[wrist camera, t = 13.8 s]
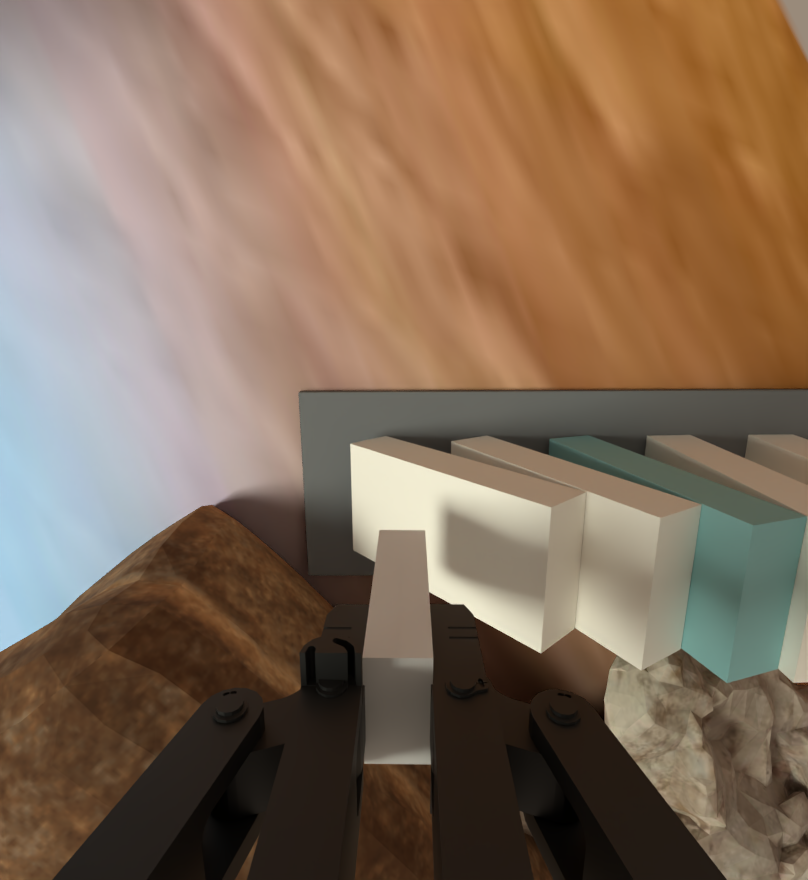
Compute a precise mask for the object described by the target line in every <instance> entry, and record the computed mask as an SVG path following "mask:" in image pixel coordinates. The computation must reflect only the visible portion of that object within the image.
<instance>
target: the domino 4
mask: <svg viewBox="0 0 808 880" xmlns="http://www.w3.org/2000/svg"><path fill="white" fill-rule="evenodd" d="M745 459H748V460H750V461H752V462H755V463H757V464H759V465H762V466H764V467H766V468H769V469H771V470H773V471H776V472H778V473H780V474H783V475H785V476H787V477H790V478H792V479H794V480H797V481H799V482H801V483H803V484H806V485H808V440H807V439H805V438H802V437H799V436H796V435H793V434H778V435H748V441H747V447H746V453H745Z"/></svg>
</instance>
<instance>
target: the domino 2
mask: <svg viewBox="0 0 808 880" xmlns="http://www.w3.org/2000/svg"><path fill="white" fill-rule="evenodd" d="M451 454H452V455H456V456H459V457H463V458H467V459H470V460H474V461H477V462H481V463H484V464H488V465H492V466H495V467H499V468H502V469H506V470H510V471H513V472H517V473H520V474H524V475H527V476H531V477H535V478H538V479H542V480H545V481H549V482H552V483H556V484H560V485H563V486H567V487H570V488H574V489H578V490H581V491H585V492H587V493H586V504H585V515H584V527H583V538H582V549H581V561H580V572H579V583H578V595H577V606H576V617H575V628H576V629H577V630H579V631H580V632H582V633H584V634H585V635H587V636H588V637H590V638H591V639H593V640H594V641H596V642H598V643H599V644H601V645H602V646H604V647H605V648H607V649H608V650H610V651H612V652H613V653H615V654H616V655H618V656H619V657H621V658H622V659H624V660H625V661H627V662H629V663H630V664H632V665H633V666H635V667H636V668H638V669H639V670H641V671H642V670H643V669H645V668H647V667H649V666H651V665H653V664H654V663H656V662H658V661H660V660H662V659H664V658H666V657H667V656H669V655H671V654H673V653H675V652H677V651H678V650H680V649H681V643H682V636H683V629H684V623H685V616H686V609H687V602H688V595H689V588H690V581H691V575H692V568H693V561H694V554H695V547H696V540H697V533H698V526H699V520H700V513H701V506H702V504H699V503H696V502H693V501H689V500H686V499H683V498H680V497H677V496H674V495H671V494H668V493H665V492H661V491H658V490H655V489H652V488H649V487H646V486H643V485H640V484H637V483H633V482H630V481H627V480H624V479H621V478H618V477H615V476H612V475H609V474H606V473H602V472H599V471H596V470H593V469H590V468H587V467H584V466H581V465H578V464H574V463H571V462H568V461H565V460H562V459H559V458H556V457H553V456H550V455H547V454H543V453H540V452H537V451H534V450H531V449H528V448H525V447H522V446H519V445H515V444H512V443H509V442H506V441H503V440H500V439H497V438H494V437H491V436H487V435H486V436H480V437H474V438H468V439H462V440H456V441H451Z"/></svg>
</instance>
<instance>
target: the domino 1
mask: <svg viewBox="0 0 808 880" xmlns="http://www.w3.org/2000/svg"><path fill="white" fill-rule="evenodd" d="M350 452H351V488H352V525H353V550H354V551H356V552H358V553H359V554H361V555H363V556H365V557H367V558H368V559H370V560H372V561H374V562H375V560H376V552H377V545H378V537H379V530H425V536H426V552H427V567H428V583H429V592H430V593H432V594H434V595H436V596H437V597H439V598H441V599H443V600H445V601H446V602H448V603H450V604H464V605H465V606H466V607H467V608H468V609H469V610H470V612H471V613H472V614H473V615H474V617H476V618H477V619H479V620H481V621H483V622H485V623H486V624H488V625H490V626H492V627H494V628H495V629H497V630H499V631H501V632H503V633H505V634H506V635H508V636H510V637H512V638H514V639H515V640H517V641H519V642H521V643H523V644H525V645H526V646H528V647H530V648H532V649H534V650H535V651H537V652H539V653H542V652H544V651H545V650H546V649H548V648H549V647H550V646H552V645H553V644H555V643H556V642H557V641H559V640H560V639H561V638H563V637H564V636H565V635H567V634H568V633H570V632H571V631H572V630H574V629H575V617H576V606H577V595H578V583H579V572H580V561H581V549H582V538H583V527H584V515H585V504H586V493H587V492H585V491H581V490H578V489H574V488H570V487H567V486H563V485H560V484H556V483H552V482H549V481H545V480H542V479H538V478H535V477H531V476H527V475H524V474H520V473H517V472H513V471H510V470H506V469H502V468H499V467H495V466H492V465H488V464H484V463H481V462H477V461H474V460H470V459H467V458H463V457H459V456H456V455H452V454H449V453H445V452H442V451H438V450H434V449H431V448H427V447H424V446H420V445H417V444H413V443H409V442H406V441H402V440H399V439H395V438H391V437H388V436H383V437H378V438H374V439H369V440H365V441H360V442H355V443H351V444H350Z"/></svg>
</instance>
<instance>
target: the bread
mask: <svg viewBox="0 0 808 880" xmlns="http://www.w3.org/2000/svg"><path fill="white" fill-rule="evenodd" d="M332 609H333V607H332V606H331V605H330V604H329V603H328V602H327V601H326V600H325V599H324V598H323V597H322V596H321V595H320V594H319V593H318V592H317V591H316V590H315V589H314V588H313V587H312V586H311V585H310V584H309V583H308V582H307V581H306V580H305V579H304V578H303V577H301V576H300V575H299V574H298V573H297V572H296V571H295V570H294V569H293V568H292V567H291V566H290V565H288V564H287V563H286V562H285V561H284V560H283V559H282V558H281V557H280V556H279V555H277V554H276V553H275V552H274V551H273V550H272V549H271V548H269V547H268V546H267V545H266V544H265V543H264V542H263V541H261V540H260V539H259V538H258V537H257V536H256V535H254V534H253V533H252V532H251V531H249V530H248V529H247V528H246V527H244V526H243V525H242V524H240V523H239V522H238V521H237V520H235V519H234V518H232V517H231V516H229V515H228V514H226V513H224V512H223V511H221V510H219V509H218V508H216V507H215V506H213V505H208V506H201V507H200V508H198V509H196V510H195V511H193V512H192V513H190V514H188V515H187V516H185V517H184V518H182V519H180V520H179V521H177V522H176V523H174V524H173V525H171V526H169V527H168V528H166V529H165V530H163V531H162V532H160V533H159V534H157V535H156V536H154V537H153V538H152V539H150V540H149V541H148V542H146V543H145V544H143V545H142V546H141V547H139V548H138V549H137V550H135V551H134V552H132V553H131V554H130V555H129V556H128V557H126V558H125V559H124V560H123V561H121V562H120V563H119V564H118V565H117V566H115V567H114V568H113V569H112V570H111V571H109V572H108V573H107V574H106V575H105V576H103V577H102V578H101V579H100V580H99V581H97V582H96V583H95V584H94V585H93V586H91V587H90V588H89V589H88V590H86V591H85V592H84V593H83V594H82V595H80V596H79V597H78V598H77V599H76V600H75V601H74V602H73V603H72V604H71V605H70V606H69V607H68V608H67V609H66V610H65V611H64V612H63V613H62V614H61V615H60V616H59V617H58V618H57V619H55V620H54V621H53V622H51V623H49V624H48V625H46V626H44V627H43V628H41V629H39V630H38V631H36V632H34V633H32V634H31V635H29V636H27V637H26V638H24V639H22V640H20V641H19V642H17V643H15V644H13V645H12V646H10V647H8V648H7V649H5V650H3V651H1V652H0V880H52V879H53V878H54V877H55V876H56V875H57V873H58V872H59V871H60V870H61V869H62V868H63V866H64V865H65V864H66V863H67V862H68V861H69V859H70V858H71V857H72V856H73V855H74V854H75V852H76V851H77V850H78V849H79V848H80V846H81V845H82V844H83V843H84V842H85V841H86V839H87V838H88V837H89V836H90V835H91V834H92V832H93V831H94V830H95V829H96V828H97V827H98V825H99V824H100V823H101V822H102V821H103V820H104V818H105V817H106V816H107V815H108V814H109V812H110V811H111V810H112V809H113V808H114V807H115V805H116V804H117V803H118V802H119V801H120V800H121V798H122V797H123V796H124V795H125V794H126V793H127V791H128V790H129V789H130V788H131V787H132V785H133V784H134V783H135V782H136V781H137V780H138V778H139V777H140V776H141V775H142V774H143V773H144V771H145V770H146V769H147V768H148V767H149V766H150V764H151V763H152V762H153V761H154V760H155V759H156V757H157V756H158V755H159V754H160V753H161V751H162V750H163V749H164V748H165V747H166V746H167V744H168V743H169V742H170V741H171V740H172V739H173V737H174V736H175V735H176V734H177V733H178V732H179V730H180V729H181V728H182V727H183V726H184V725H185V723H186V722H187V721H188V720H189V719H190V717H191V716H192V715H193V714H194V713H195V712H196V710H197V709H198V708H199V707H200V706H201V705H202V704H203V703H204V702H205V701H206V700H207V699H208V698H210V697H211V696H212V695H214V694H216V693H219V692H221V691H223V690H227V689H232V688H248V689H251V690H253V691H256V692H257V693H258V694H259V695H260V696H261V697H262V699H263V703H264V702H269V701H273V700H277V699H281V698H284V697H287V696H290V695H291V694H293V693H295V692H297V691H298V690H300V688H301V676H300V656H299V652H300V651H301V649H302V648H303V646H304V645H305V644H307V643H308V642H309V641H311V640H312V639H315V638H318V637H321V635H322V631H323V629H324V623H325V620H326V616H327V614H328V613H329V612H330V611H331V610H332ZM430 785H431V764H364V762H363V795H362V806H361V817H360V827H359V838H358V849H357V859H356V870H355V880H434V864H433V838H432V814H430ZM524 835H525V840H526V844H527V849H528V854H529V859H530V863H531V868H532V873H533V878H534V880H553V878H552V876H551V874H550V872H549V870H548V868H547V865H546V863H545V861H544V859H543V857H542V855H541V853H540V851H539V849H538V847H537V845H536V842H535V840H534V838H533V836H530V835H528V834H526V833H524ZM258 838H259V836H258ZM258 838H257V840H256V841H255V843H254V845H253V847H252V849H251V851H250V853H249V855H248V856H247V858H246V860H245V862H244V864H243V866H242V868H241V869H240V871H239V873H238V875H237V877H236V879H235V880H247V877H248V874H249V870H250V866H251V863H252V859H253V856H254V852H255V849H256V845H257V841H258Z"/></svg>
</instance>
